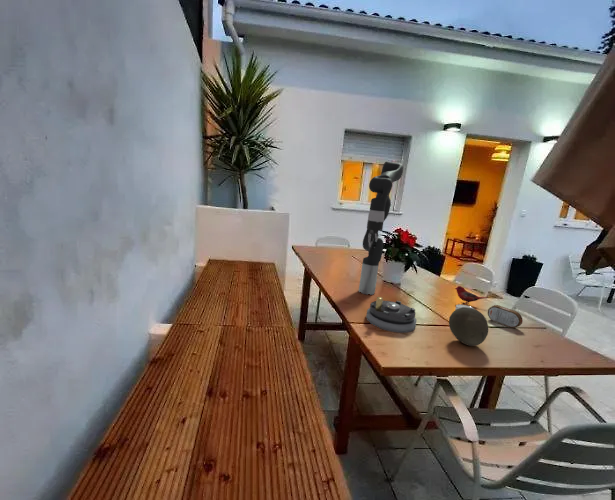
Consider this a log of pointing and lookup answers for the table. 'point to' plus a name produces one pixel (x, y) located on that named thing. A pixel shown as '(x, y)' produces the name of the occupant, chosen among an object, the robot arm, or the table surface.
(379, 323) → the base plate
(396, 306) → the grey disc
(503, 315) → the tin
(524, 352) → the table surface
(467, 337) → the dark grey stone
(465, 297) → the decorative bird figurine
